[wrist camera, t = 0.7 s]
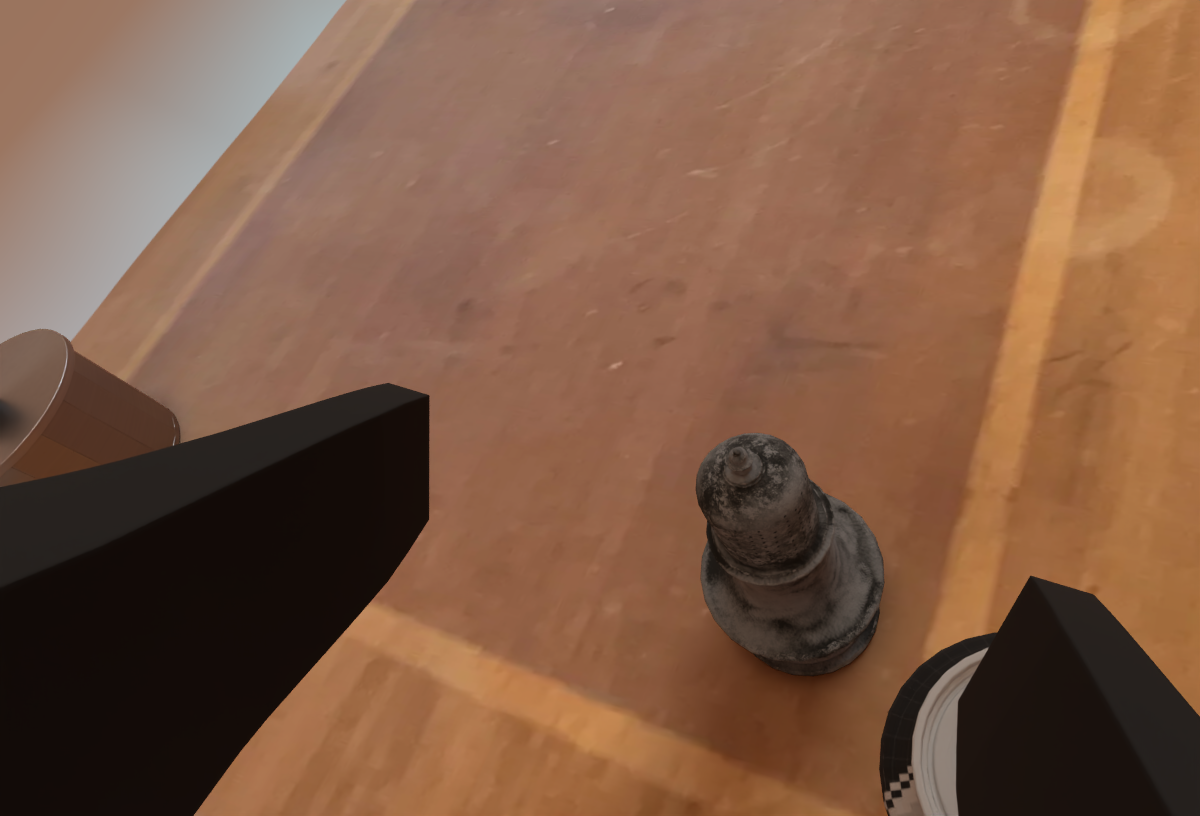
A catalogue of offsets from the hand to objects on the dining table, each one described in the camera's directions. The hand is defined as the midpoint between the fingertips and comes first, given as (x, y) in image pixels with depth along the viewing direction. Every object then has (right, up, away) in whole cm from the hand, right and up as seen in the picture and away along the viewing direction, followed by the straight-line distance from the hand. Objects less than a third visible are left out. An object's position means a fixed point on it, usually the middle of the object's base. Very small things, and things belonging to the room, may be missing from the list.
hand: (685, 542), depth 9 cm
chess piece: (+6, -6, +18) cm, 20 cm away
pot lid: (-34, +1, +31) cm, 46 cm away
